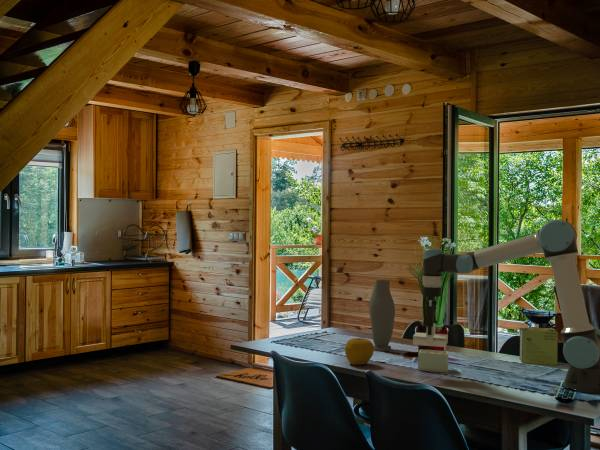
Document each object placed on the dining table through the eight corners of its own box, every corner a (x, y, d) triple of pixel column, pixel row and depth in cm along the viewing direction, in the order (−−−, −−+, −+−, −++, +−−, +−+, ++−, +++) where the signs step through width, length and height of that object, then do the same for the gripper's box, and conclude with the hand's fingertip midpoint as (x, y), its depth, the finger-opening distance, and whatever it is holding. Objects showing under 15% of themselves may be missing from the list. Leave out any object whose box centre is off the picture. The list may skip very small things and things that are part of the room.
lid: (447, 343, 263) (447, 332, 263) (446, 347, 252) (446, 336, 253) (415, 340, 266) (415, 330, 266) (412, 344, 256) (413, 333, 256)
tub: (448, 368, 275) (448, 351, 276) (447, 372, 268) (447, 354, 268) (419, 366, 279) (420, 349, 279) (418, 370, 271) (418, 352, 271)
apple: (375, 362, 286) (376, 337, 286) (371, 368, 273) (371, 341, 274) (347, 360, 289) (348, 335, 289) (341, 365, 277) (342, 339, 277)
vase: (394, 351, 315) (395, 280, 316) (367, 350, 317) (369, 280, 318) (394, 348, 328) (395, 279, 329) (369, 347, 330) (370, 279, 331)
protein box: (557, 365, 290) (558, 331, 290) (522, 363, 293) (522, 329, 293) (553, 361, 300) (553, 328, 300) (519, 359, 303) (519, 326, 303)
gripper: (439, 288, 248) (438, 346, 247) (443, 285, 270) (441, 337, 269) (419, 287, 250) (418, 344, 249) (425, 284, 272) (423, 336, 271)
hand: (430, 341), depth 259 cm, fingers closed on lid, 10 cm apart
